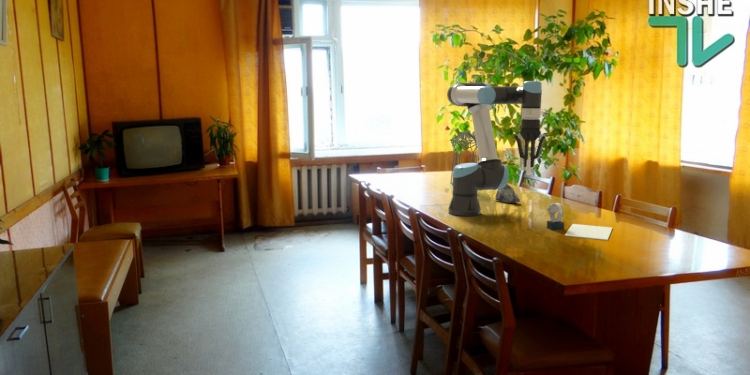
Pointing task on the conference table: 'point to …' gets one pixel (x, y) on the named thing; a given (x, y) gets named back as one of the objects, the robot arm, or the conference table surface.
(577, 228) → the felt mat
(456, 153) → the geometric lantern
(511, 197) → the mineral rock
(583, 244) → the conference table surface
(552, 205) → the watch
